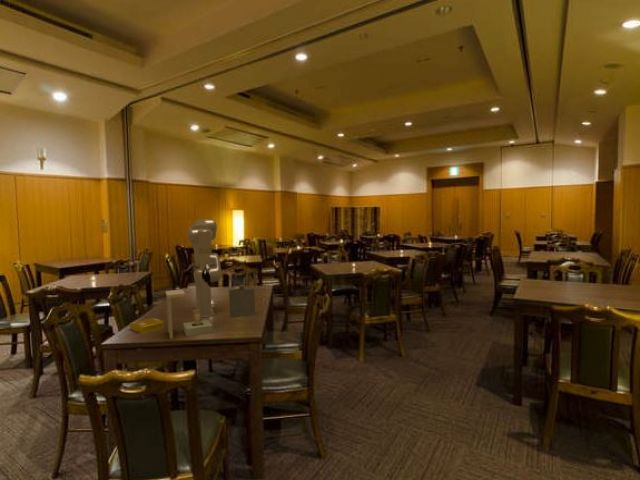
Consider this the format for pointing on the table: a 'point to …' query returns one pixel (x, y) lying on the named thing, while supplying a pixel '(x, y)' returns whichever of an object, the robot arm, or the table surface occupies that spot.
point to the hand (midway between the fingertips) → (206, 280)
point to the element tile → (146, 325)
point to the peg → (197, 317)
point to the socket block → (188, 327)
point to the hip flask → (242, 302)
